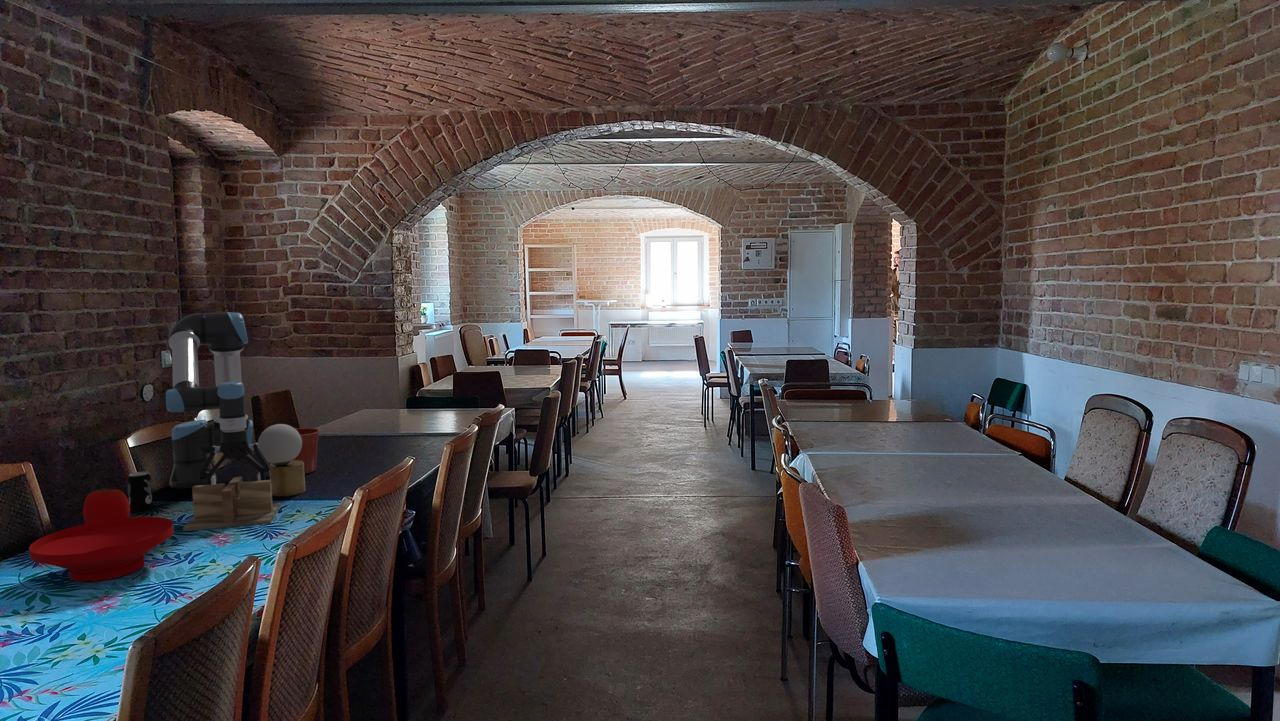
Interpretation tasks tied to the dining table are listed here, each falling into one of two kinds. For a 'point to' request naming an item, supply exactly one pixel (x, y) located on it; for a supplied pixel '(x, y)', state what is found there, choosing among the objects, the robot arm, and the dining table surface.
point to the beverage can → (140, 491)
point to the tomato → (105, 506)
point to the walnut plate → (231, 499)
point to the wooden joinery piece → (250, 505)
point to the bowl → (102, 547)
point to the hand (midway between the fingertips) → (237, 494)
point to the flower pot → (308, 448)
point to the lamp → (283, 459)
